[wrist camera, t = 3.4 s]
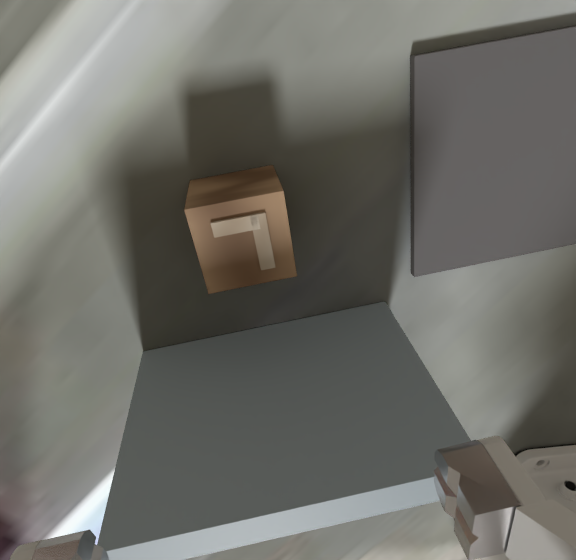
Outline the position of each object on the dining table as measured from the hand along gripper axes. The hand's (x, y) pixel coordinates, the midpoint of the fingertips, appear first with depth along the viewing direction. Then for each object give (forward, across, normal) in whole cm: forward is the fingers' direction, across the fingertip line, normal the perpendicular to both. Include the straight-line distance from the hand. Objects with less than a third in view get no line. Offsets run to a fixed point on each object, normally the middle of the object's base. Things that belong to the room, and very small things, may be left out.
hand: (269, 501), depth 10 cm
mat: (+19, +17, 0) cm, 26 cm away
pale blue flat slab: (+19, 0, -13) cm, 23 cm away
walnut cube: (+19, 0, 0) cm, 19 cm away
